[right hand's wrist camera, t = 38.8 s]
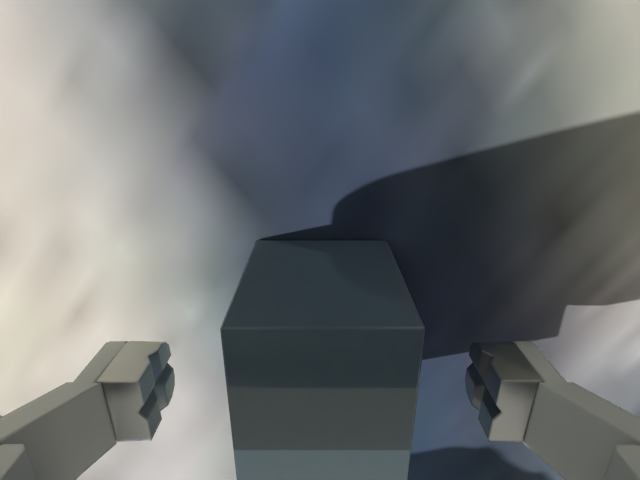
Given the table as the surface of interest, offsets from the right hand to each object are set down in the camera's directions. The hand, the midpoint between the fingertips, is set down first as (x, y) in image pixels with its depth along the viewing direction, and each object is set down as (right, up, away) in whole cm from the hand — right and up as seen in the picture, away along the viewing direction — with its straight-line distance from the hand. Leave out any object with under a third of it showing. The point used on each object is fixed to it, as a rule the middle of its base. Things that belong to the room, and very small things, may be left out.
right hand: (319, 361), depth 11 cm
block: (0, +1, +3) cm, 3 cm away
